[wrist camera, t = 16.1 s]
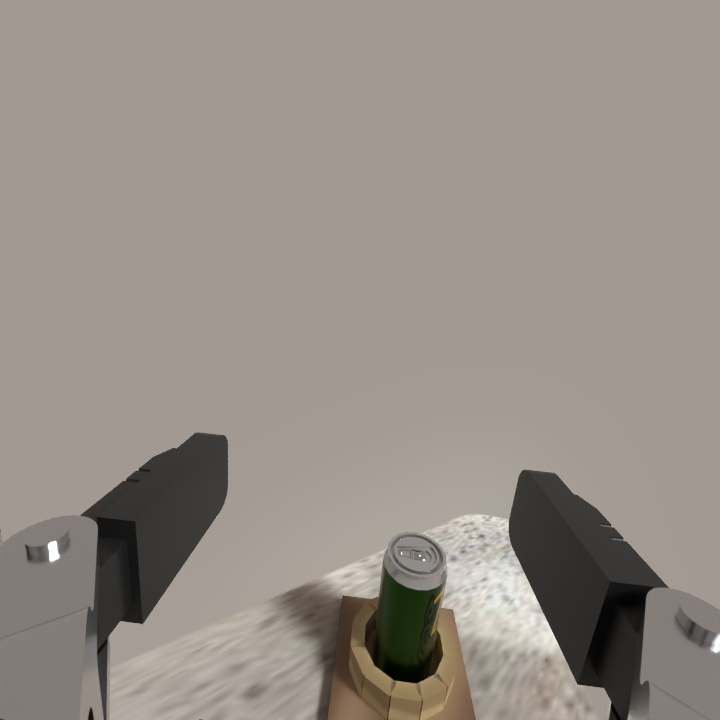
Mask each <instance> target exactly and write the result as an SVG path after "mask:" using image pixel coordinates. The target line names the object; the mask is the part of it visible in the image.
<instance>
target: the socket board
mask: <svg viewBox="0 0 720 720" xmlns="http://www.w3.org/2000/svg"><path fill="white" fill-rule="evenodd" d="M378 599H379V597H376V598H374V599H366V598H358V597H350V596H343V599H342V607H341V615H340V623H339V631H338V639H337V647H336V655H335V663H334V671H333V679H332V687H331V695H330V703H329V711H328V719H327V720H476V719H475V714H474V709H473V704H472V699H471V695H470V690H469V685H468V680H467V675H466V671H465V666H464V661H463V656H462V651H461V647H460V642H459V637H458V632H457V627H456V623H455V618H454V613H453V610H452V609H444V608H441V612H440V617H439V623H438V628H437V634H436V640H435V645H434V651H433V657H432V662H431V668H430V671H429V674H428V676H427V679H425V680H423V681H421V682H419V683H417V684H416V683H408V682H401V681H394V680H393V679H391V678H390V677H389V676H387V675H386V674H385V673H384V672H382V671H381V670H380V669H378V668H377V667H376V666H375V665H374V662H373V656H372V647H373V639H374V631H375V623H376V615H377V607H378Z"/></svg>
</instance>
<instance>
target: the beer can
mask: <svg viewBox="0 0 720 720" xmlns="http://www.w3.org/2000/svg"><path fill="white" fill-rule="evenodd" d="M446 578H447V566H446V556H445V553H444V551H443V549H442V548H441V547H440V545H439V544H438V543H436V542H435V541H434V540H433V539H431V538H429V537H427V536H425V535H422V534H418V533H408V532H406V533H402V534H398V535H397V536H395V537H393V538H392V540H391V541H390V542H389V545H388V549H387V550H386V551H385V554H384V559H383V567H382V575H381V583H380V591H379V599H378V607H377V615H376V623H375V631H374V639H373V647H372V656H373V662H374V665H375V666H376V667H377V668H378V669H380V670H381V671H382V672H384V673H385V674H386V675H387V676H389V677H390V678H391V679H393V680H394V681H401V682H408V683H416V684H417V683H419V682H421V681H423V680H425V679H427V676H428V674H429V671H430V668H431V662H432V657H433V651H434V645H435V640H436V634H437V628H438V623H439V617H440V612H441V606H442V600H443V595H444V589H445V583H446Z"/></svg>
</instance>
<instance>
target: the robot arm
mask: <svg viewBox="0 0 720 720" xmlns="http://www.w3.org/2000/svg"><path fill="white" fill-rule="evenodd" d="M227 489H228V443H227V438H226V437H225V436H224V435H216V434H207V433H195V434H194V435H193V436H191V437H190V438H189V439H188V440H186V442H184V443H183V444H182V445H181V446H179V447H178V448H177V449H175V448H172V449H170V450H168V451H166V452H164V453H161V454H159V455H157V456H155V457H153V458H152V459H150V460H149V461H148V462H147V463H145V464H144V465H143V466H142V467H140V468H139V471H135V472H134V473H133V474H132V475H130V476H129V477H128V478H127V480H126V481H123V482H122V483H120V484H119V485H118V486H117V487H115V488H114V489H113V490H112V491H110V492H109V493H108V494H107V495H105V496H104V497H103V498H102V499H100V500H99V501H98V502H97V503H96V504H94V505H93V506H92V507H90V508H89V509H88V510H87V511H85V512H84V513H83V514H81V515H80V516H63V517H58V518H53V519H49V520H45V521H42V522H40V523H37V524H34V525H32V526H30V527H27V528H26V529H24V530H22V531H20V532H18V533H16V534H15V535H13V536H12V537H10V538H9V539H7V540H6V541H5V542H4V543H3V542H2V537H1V531H0V720H109V697H110V642H109V635H110V633H111V632H112V631H113V630H114V628H115V627H116V626H117V624H118V623H119V622H120V621H126V622H133V623H140V624H143V623H144V622H145V620H146V619H147V617H148V616H149V614H150V613H151V611H152V610H153V608H154V607H155V606H156V604H157V603H158V601H159V600H160V598H161V597H162V595H163V594H164V592H165V591H166V589H167V588H168V587H169V585H170V584H171V582H172V581H173V579H174V577H175V576H176V574H177V573H178V572H179V570H180V569H181V568H182V566H183V564H184V563H185V562H186V560H187V559H188V557H189V556H190V554H191V553H192V551H193V550H194V549H195V547H196V546H197V544H198V543H199V541H200V540H201V538H202V537H203V535H204V534H205V533H206V531H207V530H208V528H209V527H210V525H211V524H212V522H213V521H214V519H215V518H216V516H217V515H218V514H219V512H220V511H221V509H222V507H223V505H224V502H225V499H226V495H227ZM509 537H510V541H511V545H512V547H513V549H514V551H515V554H516V556H517V558H518V560H519V562H520V564H521V566H522V568H523V570H524V573H525V575H526V577H527V579H528V581H529V583H530V585H531V587H532V589H533V592H534V594H535V596H536V598H537V600H538V602H539V604H540V606H541V608H542V610H543V613H544V615H545V617H546V619H547V621H548V623H549V625H550V627H551V629H552V632H553V634H554V636H555V638H556V640H557V642H558V644H559V646H560V648H561V651H562V653H563V655H564V657H565V659H566V661H567V663H568V665H569V667H570V669H571V672H572V674H573V676H574V678H575V680H576V682H577V684H579V685H586V686H594V687H601V688H605V690H606V692H607V694H608V696H609V698H610V702H609V705H608V708H607V711H606V714H605V720H720V610H718V609H717V608H715V607H714V606H712V605H710V604H709V603H707V602H705V601H703V600H701V599H699V598H697V597H694V596H692V595H690V594H688V593H685V592H682V591H679V590H675V589H671V588H668V587H667V585H666V584H665V583H664V582H663V581H662V580H661V579H660V578H659V577H658V576H657V574H656V573H655V572H654V571H653V570H652V569H651V568H650V567H649V566H648V565H647V563H646V562H645V561H644V560H643V559H642V558H641V557H640V556H639V555H638V554H637V552H636V551H635V550H634V549H633V548H632V547H631V546H630V545H629V544H628V543H627V542H625V541H624V540H623V537H622V536H621V535H620V534H619V533H618V532H617V530H616V529H615V528H612V527H611V524H610V523H609V522H608V521H607V520H606V518H605V517H604V516H603V515H602V514H601V513H600V512H599V511H598V510H597V509H596V508H595V507H593V506H592V505H590V504H589V503H588V502H586V501H585V500H583V499H582V498H580V497H579V496H578V495H574V494H573V493H572V492H571V491H570V490H569V488H568V487H567V486H566V485H565V484H564V483H563V481H562V480H561V479H560V478H559V477H558V476H557V475H556V474H555V473H549V472H541V471H532V470H523V471H522V472H521V473H520V475H519V479H518V483H517V488H516V492H515V497H514V501H513V506H512V510H511V515H510V519H509ZM199 720H200V719H199Z"/></svg>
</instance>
